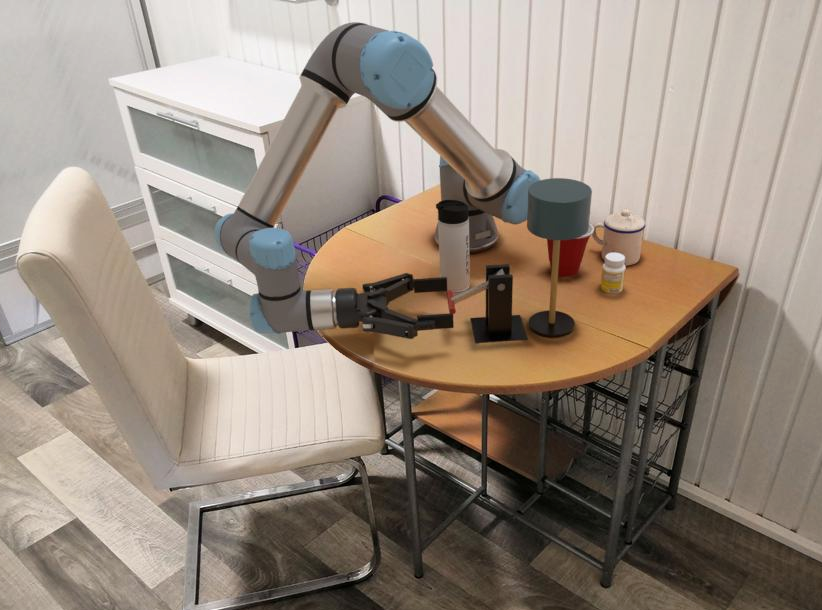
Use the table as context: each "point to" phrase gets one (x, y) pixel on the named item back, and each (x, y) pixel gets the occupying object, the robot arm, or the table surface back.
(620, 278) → the supplement bottle
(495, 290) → the switch base
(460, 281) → the travel mug
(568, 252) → the plastic cup
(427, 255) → the table surface
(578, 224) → the desk lamp
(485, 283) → the switch lever
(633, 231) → the lidded enamel mug
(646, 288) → the table surface
